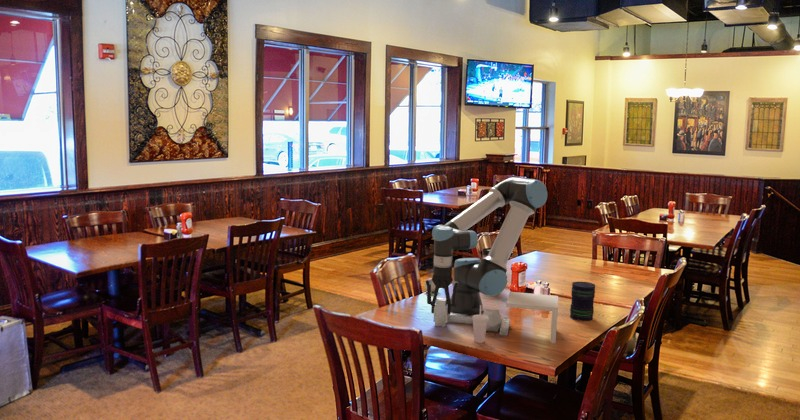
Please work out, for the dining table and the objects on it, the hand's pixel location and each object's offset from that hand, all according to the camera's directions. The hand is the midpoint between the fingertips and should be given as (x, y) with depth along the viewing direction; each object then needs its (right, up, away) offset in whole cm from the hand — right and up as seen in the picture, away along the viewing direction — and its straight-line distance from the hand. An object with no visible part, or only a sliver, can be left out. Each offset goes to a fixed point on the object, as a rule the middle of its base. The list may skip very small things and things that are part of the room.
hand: (440, 321), depth 280 cm
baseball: (-1, +6, +52) cm, 53 cm away
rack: (+36, -4, -7) cm, 36 cm away
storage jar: (+62, -1, +17) cm, 64 cm away
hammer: (+13, -2, -1) cm, 13 cm away
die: (+20, -3, -4) cm, 21 cm away
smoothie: (+14, -5, -18) cm, 23 cm away
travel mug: (+28, +6, +61) cm, 67 cm away
